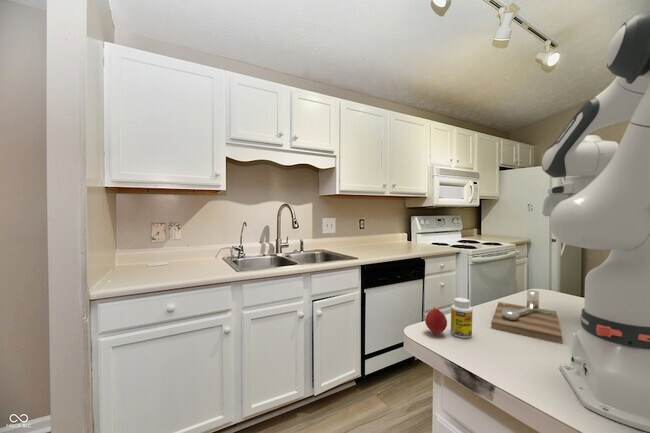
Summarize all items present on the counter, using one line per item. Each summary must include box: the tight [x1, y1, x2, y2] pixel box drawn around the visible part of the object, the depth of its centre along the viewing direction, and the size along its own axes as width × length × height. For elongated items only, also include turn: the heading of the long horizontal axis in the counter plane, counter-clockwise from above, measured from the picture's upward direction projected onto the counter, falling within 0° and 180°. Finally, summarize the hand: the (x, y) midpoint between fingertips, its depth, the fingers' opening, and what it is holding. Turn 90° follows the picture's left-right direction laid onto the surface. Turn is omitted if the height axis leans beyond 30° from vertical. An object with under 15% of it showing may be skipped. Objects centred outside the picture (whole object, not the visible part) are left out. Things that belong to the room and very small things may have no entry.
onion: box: [424, 306, 448, 335], centre depth 82 cm, size 6×6×8 cm
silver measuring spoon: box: [502, 289, 540, 320], centre depth 91 cm, size 17×4×6 cm, turn 118°
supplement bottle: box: [450, 297, 473, 339], centre depth 82 cm, size 6×6×10 cm
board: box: [490, 301, 563, 344], centre depth 91 cm, size 23×16×2 cm
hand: (581, 231), depth 92 cm, fingers closed
